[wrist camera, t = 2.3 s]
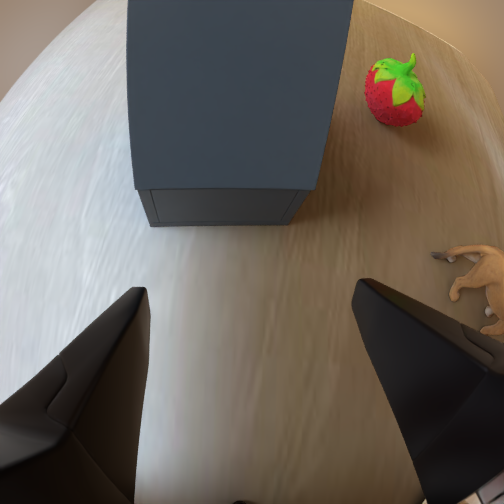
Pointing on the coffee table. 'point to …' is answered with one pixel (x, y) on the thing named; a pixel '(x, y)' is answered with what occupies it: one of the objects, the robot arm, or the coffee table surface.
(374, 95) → the strawberry
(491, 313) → the lion figurine
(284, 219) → the chest
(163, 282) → the coffee table surface
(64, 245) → the coffee table surface
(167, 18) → the lid
